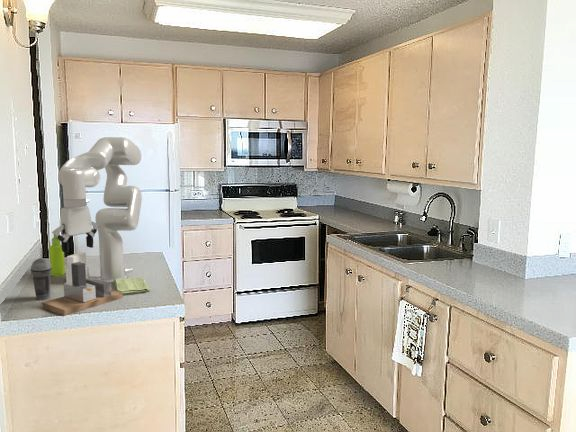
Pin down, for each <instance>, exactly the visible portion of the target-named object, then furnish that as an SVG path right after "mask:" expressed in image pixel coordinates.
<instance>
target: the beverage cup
mask: <svg viewBox="0 0 576 432" xmlns="http://www.w3.org/2000/svg"><path fill="white" fill-rule="evenodd" d="M51 269H52V267H51V264H50V260H48V259H46V258H43V247H40V258H37V259H35V260H34V261H32V264H31V266H30V272H31V277H32V281H33V286H34V292H35V297H36V300H37V301H47V300H50V299H51V298H50V297H51V281H52V280H51V279H52V278H51V277H52V276H51Z"/></svg>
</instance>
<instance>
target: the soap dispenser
mask: <svg viewBox="0 0 576 432" xmlns="http://www.w3.org/2000/svg"><path fill="white" fill-rule="evenodd" d="M51 233H52V234H53V238H51V245H50V246H49V247H48V249H49V262H50V264H51V267H52V269H51V277H61V276H65V275H66V267H65V266H66V265H65V252H63V251H62V247H61V241H59V239H57V238H56V236H55V234H54V233H53V231H52V232H51Z"/></svg>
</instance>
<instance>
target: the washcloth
mask: <svg viewBox="0 0 576 432" xmlns="http://www.w3.org/2000/svg"><path fill="white" fill-rule="evenodd" d="M112 285H113V287H114V289H115V291H118V292H122V293H123V296H126V295H134V294H139V293H141V294H142V293H148V292H150V287H149V285H148V283H147V281H146V280H145V278H144V277H131V278H128V279H115V280H114V283H113V284H112Z"/></svg>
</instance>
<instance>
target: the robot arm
mask: <svg viewBox="0 0 576 432" xmlns="http://www.w3.org/2000/svg"><path fill="white" fill-rule="evenodd" d="M141 161H142V151H141V150H140V147H139V146H138V145H136V144H135V143H134V142H133V141H132V140H130V139H129V138H127V137H122V136H118V137H117V136H114V137H113V136H106V137H101V138H99V139H98V140H96V142H95V143H94V144H93V145H92V147H91V148H90V149H89V151H88V152H87V151H86V152H84V153H82V154H79V155H77V156H74V157H72V158H70V159H68V160H66V161H65V163H64V164H63V165H62V166H61V168H60V169H59V171H58V175H57V179H58V182H59V184H60V185H61V186H62V196H63V207H61V211H60V218H59V220H60V221H59V226H58V227H57V228H55V229H54V230H53V231H52V232H53V233H52V234H53V235H54V234H55V236H56V238H57V239H59V241H60V245H61V247H62V251H63V252H64V254H68V253H69V252H70V243H69V242H68V240H69V238H70V237H73V236H79V235H84V234H85V235H87V236H86V237H85V241H86V243H85V244H86V247H87V248H90V249H92V248H94V237H95V234H96V233H97V234H98V235H97V236H98V249H99V252H98V253H99V267H100V269H99V270H100V276H98V277H97V278H96V279H99V280H103V281H107V282H110V283H111V285H113V283H114V280H115V279H129V277H128V275H127V274H129V273H132V272H133V271H134V269H133V268H132V267H129V268H127V267H124V246H123V242H124V241H123V239H122V236H121V234H120V233H119V232H118V231H126V232H128V231H129V232H130V231H135V230H136V229H137V228H138V224H139V221H140V220H139V219H140V214H141V207H142V201H143V200H142V199H143V197H142V191H141V189H140V188H139V187H138V186H135V185H127V182H128V176H127V174H126V173H125V171H124V170H123V169H122V168H121V166H136V165H138V164H140V162H141ZM102 169H105V173H106V182H105V186H104V191H103V198H102V199H103V204H104V205H105V206H107V207H106V208H101V209H99V210H97V212H96V213H95V221H92V217H91V213H90V208H89V206H88V203H90V199H89V198H87V192H86V189H87V188H94V187H96V186H97V185H98V184H99V183H100V182H101V174H100V172H99V171H100V170H102Z"/></svg>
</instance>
